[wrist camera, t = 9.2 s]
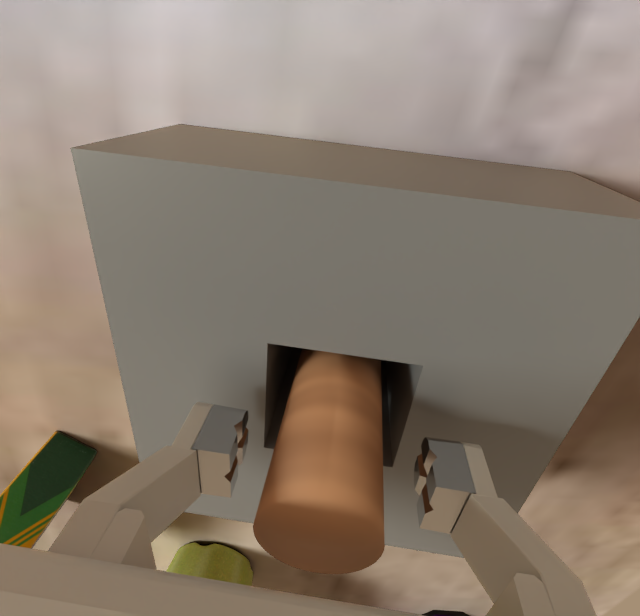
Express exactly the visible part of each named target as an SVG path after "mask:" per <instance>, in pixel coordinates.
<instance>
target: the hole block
mask: <svg viewBox="0 0 640 616" xmlns="http://www.w3.org/2000/svg"><path fill="white" fill-rule="evenodd" d="M71 152H72V156H73V161H74V165H75V170H76V174H77V179H78V184H79V188H80V193H81V197H82V202H83V206H84V211H85V216H86V220H87V225H88V229H89V234H90V238H91V243H92V248H93V252H94V257H95V261H96V266H97V270H98V275H99V280H100V284H101V289H102V293H103V298H104V302H105V307H106V312H107V316H108V321H109V325H110V330H111V334H112V339H113V344H114V348H115V353H116V357H117V362H118V366H119V371H120V376H121V380H122V385H123V389H124V394H125V398H126V403H127V408H128V412H129V417H130V421H131V426H132V430H133V435H134V440H135V444H136V449H137V453H138V458H139V462H142V461H143V460H145V459H146V458H148V457H149V456H151V455H152V454H154V453H156V452H157V451H159V450H160V449H162V448H163V447H165V446H172V444H173V442H174V440H175V438H176V437H177V435H178V433H179V431H180V429H181V427H182V426H183V424H184V422H185V420H186V418H187V416H188V414H189V413H190V411H191V409H192V407H193V405H195V404H196V403H197V402H202V403H208V404H215V405H221V406H226V407H232V408H237V409H243V410H247V411H248V418H249V419H248V422H247V425H246V428H247V429H248V430H249V431H248V444H247V448H246V453H245V456H244V460H243V463H242V464H240V465H239V466H238V478H237V481H236V484H235V487H234V490H233V493H232V496H231V498H229V497H222V496H214V495H206V494H201V496H200V497H199V498H198V499H197V500H196V501H195V502H194V503H192V504H191V505H190V506H189V507H188V508H187V509H186V510H185V511H184V512H187V513H193V514H199V515H206V516H212V517H218V518H224V519H230V520H236V521H242V522H248V523H254V520H255V516H256V513H257V509H258V505H259V502H260V498H261V495H262V491H263V487H264V484H265V480H266V477H267V473H268V469H269V466H270V462H271V459H272V455H273V451H274V448H275V444H276V441H277V437H278V433H279V430H280V426H281V423H282V419H283V415H284V412H285V408H286V405H287V401H288V397H289V394H290V390H291V387H292V383H293V379H294V376H295V372H296V369H297V365H298V361H299V358H300V354H301V351H302V348H304V349H311V350H317V351H324V352H331V353H338V354H345V355H352V356H359V357H366V358H373V359H380V360H381V388H382V439H383V490H384V541H385V545H388V546H394V547H400V548H407V549H413V550H419V551H425V552H431V553H437V554H443V555H449V556H455V557H461V558H464V556H463V555H462V553H461V552H460V550H459V548H458V547H457V545H456V544H455V542H454V541H453V539H452V538H451V536H450V535H451V534H447V533H442V532H437V531H432V530H426V529H421V528H419V521H418V513H417V502H418V499H419V497H420V496H419V495H418V493H417V492H416V491H415V488H414V467H415V462H416V459H417V456H418V455H420V454H421V453H422V449H421V444H422V441H423V439H424V438H425V437H430V438H437V439H445V440H452V441H459V442H465V443H472V444H478V445H480V446H481V448H482V450H483V453H484V457H485V460H486V463H487V466H488V469H489V472H490V475H491V478H492V481H493V485H494V488H495V491H496V494H497V497H498V498H503V499H504V500H505V501H506V502H507V503H508V504H509V505H510V506H511V507H512V508H513V509H514V510H515V512H516V513H517V514H518V512H519V510H520V509H521V507H522V505H523V504H524V502H525V501H526V499H527V497H528V496H529V494H530V493H531V491H532V489H533V488H534V486H535V485H536V483H537V481H538V480H539V478H540V476H541V475H542V473H543V472H544V470H545V468H546V467H547V465H548V464H549V462H550V460H551V459H552V457H553V456H554V454H555V452H556V451H557V449H558V447H559V446H560V444H561V443H562V441H563V439H564V438H565V436H566V435H567V433H568V431H569V430H570V428H571V427H572V425H573V423H574V422H575V420H576V418H577V417H578V415H579V414H580V412H581V410H582V409H583V407H584V406H585V404H586V402H587V401H588V399H589V398H590V396H591V394H592V393H593V391H594V390H595V388H596V386H597V385H598V383H599V381H600V380H601V378H602V377H603V375H604V373H605V372H606V370H607V369H608V367H609V365H610V364H611V362H612V361H613V359H614V357H615V356H616V354H617V352H618V351H619V349H620V348H621V346H622V344H623V343H624V341H625V340H626V338H627V336H628V335H629V333H630V332H631V330H632V328H633V327H634V325H635V323H636V322H637V320H638V319H639V317H640V202H638V201H636V200H634V199H632V198H629V197H627V196H625V195H622V194H620V193H618V192H616V191H613V190H611V189H609V188H606V187H604V186H602V185H600V184H597V183H595V182H593V181H590V180H588V179H586V178H584V177H581V176H579V175H577V174H574V173H572V172H569V171H561V170H553V169H545V168H536V167H528V166H520V165H512V164H504V163H495V162H487V161H479V160H471V159H462V158H454V157H446V156H438V155H430V154H421V153H413V152H405V151H397V150H388V149H380V148H372V147H364V146H356V145H347V144H339V143H331V142H323V141H315V140H306V139H298V138H290V137H282V136H273V135H265V134H257V133H249V132H241V131H232V130H224V129H216V128H208V127H199V126H191V125H183V124H178V125H173V126H169V127H164V128H159V129H155V130H150V131H146V132H141V133H137V134H132V135H127V136H123V137H118V138H114V139H109V140H104V141H100V142H95V143H91V144H86V145H82V146H77V147H72V148H71Z"/></svg>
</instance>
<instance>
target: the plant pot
mask: <svg viewBox="0 0 640 616" xmlns="http://www.w3.org/2000/svg"><path fill="white" fill-rule="evenodd" d="M166 572H172V573H178V574H184V575H190V576H196V577H201V578H207V579H213V580H219V581H225V582H231V583H237V584H243V585H248V586H252V579H253V571H252V570H251V567H250V563H249V561H248V559H247V558H246V557H244V556H243V555H242V554H240V553H239V552H237V551H235V550H233V549H231V548H229V547H226V546H223V545H219V544H211V545H209V546H201V545H199V544H197V543H196V542H194V543H189V544H186V545H184V546H182V547H181V548H180V549H179V550H178V551H177V553H176V555H175V557H174V558H173V560H172V562H171V564H170V565H169V567H168V569H167V571H166Z"/></svg>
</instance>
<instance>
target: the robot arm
mask: <svg viewBox="0 0 640 616" xmlns="http://www.w3.org/2000/svg"><path fill="white" fill-rule="evenodd" d="M248 419H249V418H248V411H247V410H243V409H237V408H232V407H226V406H221V405H215V404H208V403H202V402H197V403H196V404H195V405H193V407H192V409H191V411H190V413H189V414H188V416H187V418H186V420H185V422H184V424H183V426H182V427H181V429H180V431H179V433H178V435H177V437H176V438H175V440H174V442H173V444H172V446H165V447H163V448H162V449H160V450H159V451H157V452H156V453H154V454H152V455H151V456H149V457H148V458H146V459H145V460H143V461H142V462H140V463H139V464H137V465H136V466H134V467H132V468H131V469H129V470H128V471H126V472H125V473H123V474H122V475H120V476H119V477H117V478H116V479H114V480H112V481H111V482H109V483H108V484H106V485H105V486H103V487H102V488H100V489H99V490H97V491H95V492H94V493H92V494H91V495H89V496H88V497H86V498H85V499H83V501H82V502H81V504H80V505H79V506H78V508H77V509H76V511H75V512H74V514H73V515H72V517H71V518H70V520H69V521H68V523H67V524H66V525H65V527H64V528H63V530H62V531H61V533H60V534H59V536H58V537H57V539H56V540H55V541H54V543H53V544H52V546H51V547H50V549H49V550H48V551H43V550H37V549H31V548H25V547H20V546H14V545H8V544H2V543H0V616H424V615H418V614H412V613H407V612H401V611H395V610H389V609H383V608H377V607H372V606H366V605H360V604H354V603H348V602H342V601H337V600H331V599H325V598H319V597H313V596H307V595H301V594H295V593H290V592H284V591H278V590H272V589H266V588H260V587H254V586H248V585H243V584H237V583H231V582H225V581H219V580H213V579H207V578H201V577H196V576H190V575H184V574H178V573H172V572H166V571H160V570H156V565H155V560H154V556H153V552H152V547H151V542H152V541H153V540H154V539H155V538H156V537H158V536H159V535H160V534H161V533H162V532H163V531H164V530H165V529H166V528H167V527H168V526H169V525H170V524H171V523H172V522H173V521H174V520H176V519H177V518H178V517H179V516H180V515H181V514H182V513H183V512H184V511H185V510H186V509H187V508H188V507H189V506H190V505H191V504H192V503H194V502H195V501H196V500H197V499H198V498H199V497H200V496H201V494H206V495H214V496H222V497H229V498H231V496H232V493H233V490H234V487H235V484H236V481H237V478H238V466H239V465H240V464H242V463H243V460H244V456H245V453H246V448H247V444H248V431H249V430H248V429H247V428H246V425H247V422H248ZM421 449H422V453H421V454H420V455H418V456H417V459H416V462H415V467H414V488H415V491H416V492H417V493H418V495H419V496H420V497H419V499H418V502H417V513H418V521H419V528H421V529H426V530H432V531H437V532H442V533H447V534H451V535H450V536H451V538H452V539H453V541H454V542H455V544H456V545H457V547H458V548H459V550H460V552H461V553H462V555H463V556H464V558H465V559H466V561H467V562H468V564H469V566H470V567H471V569H472V570H473V572H474V573H475V575H476V576H477V578H478V580H479V581H480V583H481V584H482V586H483V587H484V589H485V590H486V592H487V594H488V595H489V597H490V598H491V600H492V601H493V603H494V605H493V606H492V608H491V609H490V610H489V612H488V613H487V615H486V616H596V613H595V611H594V609H593V606H592V604H591V602H590V599H589V597H588V595H587V592H586V590H585V588H584V585H583V583H582V581H581V580H580V579H579V578H578V577H577V576H576V575H575V574H574V573H573V572H572V571H571V570H570V569H569V568H568V567H567V566H566V564H565V563H564V562H563V561H562V560H561V559H560V558H559V557H558V556H557V555H556V554H555V553H554V552H553V551H552V550H551V549H550V548H549V546H548V545H547V544H546V543H545V542H544V541H543V540H542V539H541V538H540V537H539V536H538V535H537V534H536V533H535V532H534V531H533V530H532V528H531V527H530V526H529V525H528V524H527V523H526V522H525V521H524V520H523V519H522V518H521V517H520V516H519V515H518V514H517V513H516V512H515V510H514V509H513V508H512V507H511V506H510V505H509V504H508V503H507V502H506V501H505V500H504V499H503V498H498V497H497V494H496V491H495V488H494V485H493V481H492V478H491V475H490V472H489V469H488V466H487V463H486V460H485V457H484V453H483V450H482V448H481V446H480V445H478V444H472V443H465V442H459V441H452V440H445V439H437V438H430V437H425V438H424V439H423V441H422V444H421Z"/></svg>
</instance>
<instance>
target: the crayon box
mask: <svg viewBox="0 0 640 616" xmlns="http://www.w3.org/2000/svg"><path fill="white" fill-rule="evenodd" d="M96 453H97V451H96V450H95V449H93V448H91V447H89V446H87V445H85V444H83V443H81V442H79V441H77V440H75V439H73V438H71V437H69V436H67V435H65V434H63V433H61V432H59V431H56V432H55V433H54V434H53V435H52V436H51V437H50V438H49V440H48V441H47V442H46V443H45V444H44V445H43V446H42V447H41V449H40V450H39V451H38V452H37V453H36V454H35V455H34V457H33V458H32V459H31V460H30V461H29V462H28V463H27V465H26V466H25V467H24V468H23V469H22V470H21V472H20V473H19V474H18V475H17V476H16V477H15V479H14V480H13V481H12V482H11V483H10V484H9V485H8V487H7V488H6V489H5V490H4V491H3V493H2V494H1V495H0V543H2V544H8V545H14V546H20V547H25V548H31V549H32V548H33V547H34V545H35V544H36V542H37V541H38V540H39V538H40V537H41V536H42V534H43V533H44V531H45V530H46V528H47V527H48V526H49V524H50V523H51V521H52V520H53V518H54V517H55V516H56V514H57V513H58V511H59V510H60V509H61V507H62V506H63V505H64V503H65V502H66V500H67V499H68V497H69V496H70V494H71V493H72V491H73V490H74V488H75V487H76V485H77V483H78V482H79V480H80V479H81V477H82V476H83V474H84V473H85V471H86V469H87V468H88V466H89V465H90V464H91V462H92V460H93V459H94V457H95V455H96Z"/></svg>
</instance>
